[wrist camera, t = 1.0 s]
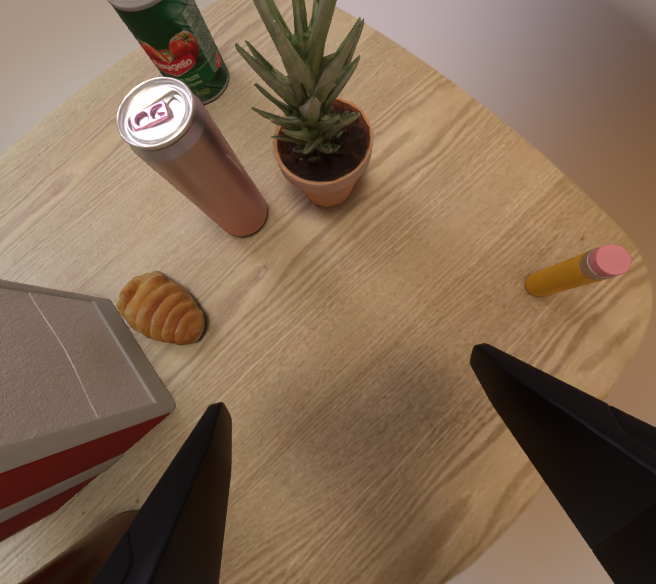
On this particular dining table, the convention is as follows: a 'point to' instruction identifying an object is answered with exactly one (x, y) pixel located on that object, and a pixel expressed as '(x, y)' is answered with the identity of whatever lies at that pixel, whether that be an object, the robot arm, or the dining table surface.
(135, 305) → the pastry
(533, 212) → the dining table surface
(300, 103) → the potted plant
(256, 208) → the beverage can
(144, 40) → the canned tomato
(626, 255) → the pencil
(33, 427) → the red gift box
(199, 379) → the dining table surface
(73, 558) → the brown cylindrical pot
